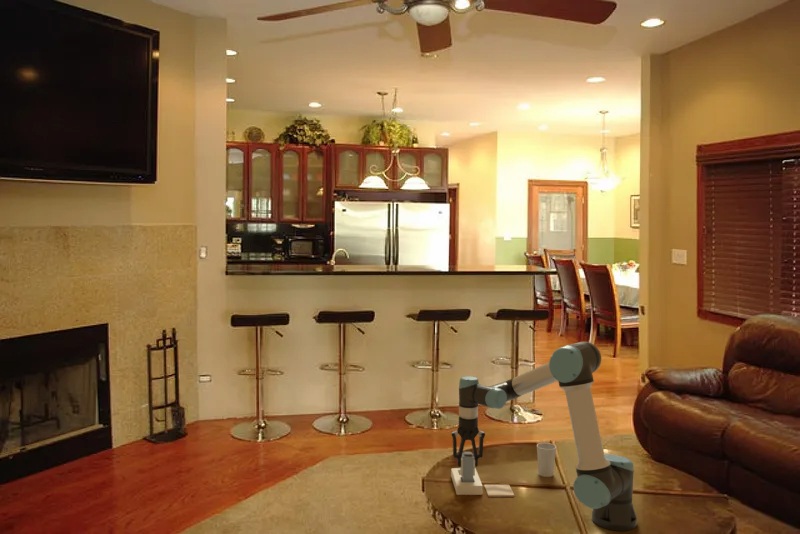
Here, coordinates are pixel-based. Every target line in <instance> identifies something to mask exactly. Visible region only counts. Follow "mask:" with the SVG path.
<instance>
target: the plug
mask: <svg viewBox="0 0 800 534" xmlns="http://www.w3.org/2000/svg"><path fill="white" fill-rule="evenodd" d="M462 458H463V476H462V482H473V461H474V453H472V451H463V453H462Z"/></svg>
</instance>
